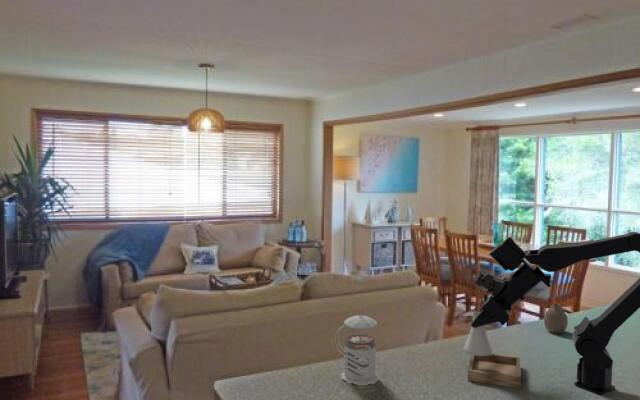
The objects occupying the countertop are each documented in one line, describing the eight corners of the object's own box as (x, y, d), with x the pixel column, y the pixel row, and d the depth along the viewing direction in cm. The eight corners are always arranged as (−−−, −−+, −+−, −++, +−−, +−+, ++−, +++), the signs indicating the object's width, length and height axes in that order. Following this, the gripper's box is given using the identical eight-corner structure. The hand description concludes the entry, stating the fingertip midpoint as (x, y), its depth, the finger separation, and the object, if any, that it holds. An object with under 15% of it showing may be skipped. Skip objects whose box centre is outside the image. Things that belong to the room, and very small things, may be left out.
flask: (488, 347, 133) (489, 309, 132) (495, 357, 126) (496, 318, 125) (460, 346, 134) (461, 309, 133) (465, 356, 127) (466, 317, 126)
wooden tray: (519, 366, 133) (519, 357, 133) (520, 388, 120) (520, 377, 120) (471, 360, 137) (471, 351, 137) (467, 380, 124) (467, 370, 124)
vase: (545, 334, 160) (546, 306, 159) (542, 327, 167) (543, 301, 166) (569, 336, 158) (570, 308, 157) (565, 329, 165) (566, 302, 164)
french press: (369, 389, 119) (370, 283, 117) (326, 378, 125) (327, 277, 123) (386, 374, 127) (387, 275, 126) (345, 364, 133) (346, 270, 132)
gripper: (495, 254, 136) (453, 292, 140) (493, 267, 118) (445, 310, 123) (527, 285, 134) (483, 323, 138) (530, 303, 116) (479, 345, 121)
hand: (472, 324), depth 130 cm, fingers closed on flask, 3 cm apart
